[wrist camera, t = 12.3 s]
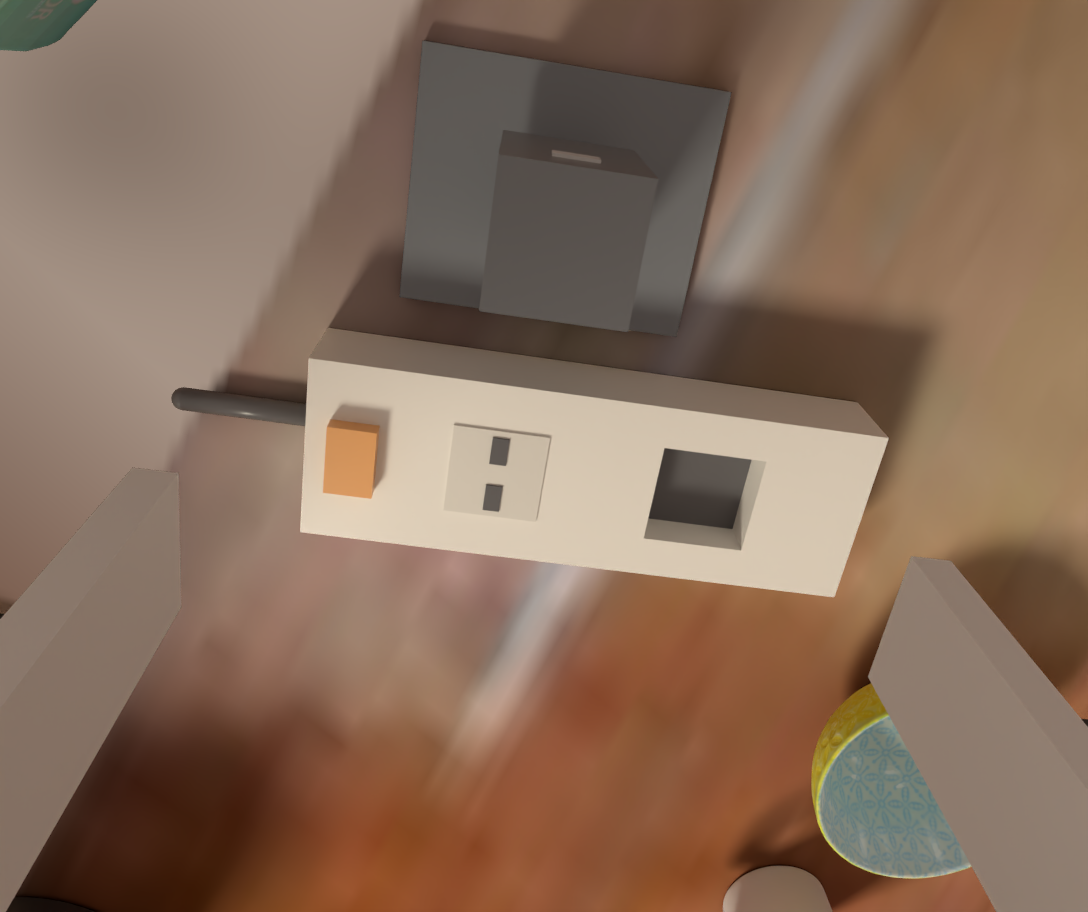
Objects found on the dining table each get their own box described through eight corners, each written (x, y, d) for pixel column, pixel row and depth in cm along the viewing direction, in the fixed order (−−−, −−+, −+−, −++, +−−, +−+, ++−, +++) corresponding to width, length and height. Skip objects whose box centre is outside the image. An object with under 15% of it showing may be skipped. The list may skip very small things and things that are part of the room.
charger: (488, 250, 38) (478, 311, 30) (504, 121, 36) (498, 150, 28) (606, 268, 39) (628, 332, 31) (629, 141, 37) (658, 175, 29)
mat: (401, 293, 40) (399, 297, 39) (424, 40, 35) (422, 40, 35) (674, 332, 41) (676, 337, 40) (728, 91, 36) (731, 92, 36)
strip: (178, 471, 43) (139, 522, 39) (175, 306, 40) (132, 341, 35) (809, 551, 45) (839, 607, 41) (857, 402, 42) (895, 445, 38)
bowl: (973, 592, 47) (1035, 669, 41) (1011, 752, 51) (1071, 841, 46) (758, 661, 48) (789, 745, 43) (813, 811, 53) (847, 904, 47)
